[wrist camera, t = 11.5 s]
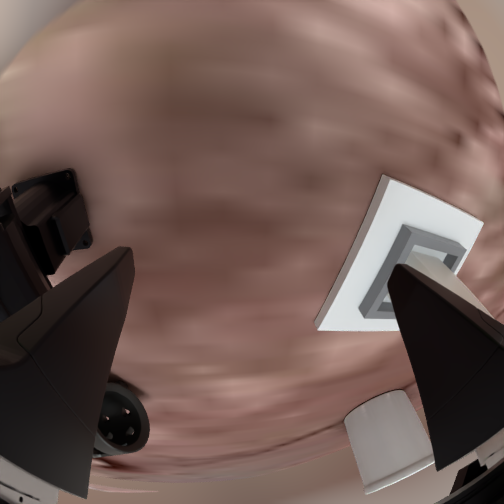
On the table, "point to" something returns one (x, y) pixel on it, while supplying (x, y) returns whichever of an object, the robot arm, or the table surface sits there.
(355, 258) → the dock plate
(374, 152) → the table surface
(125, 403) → the muzzle brake
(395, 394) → the utensil holder
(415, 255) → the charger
